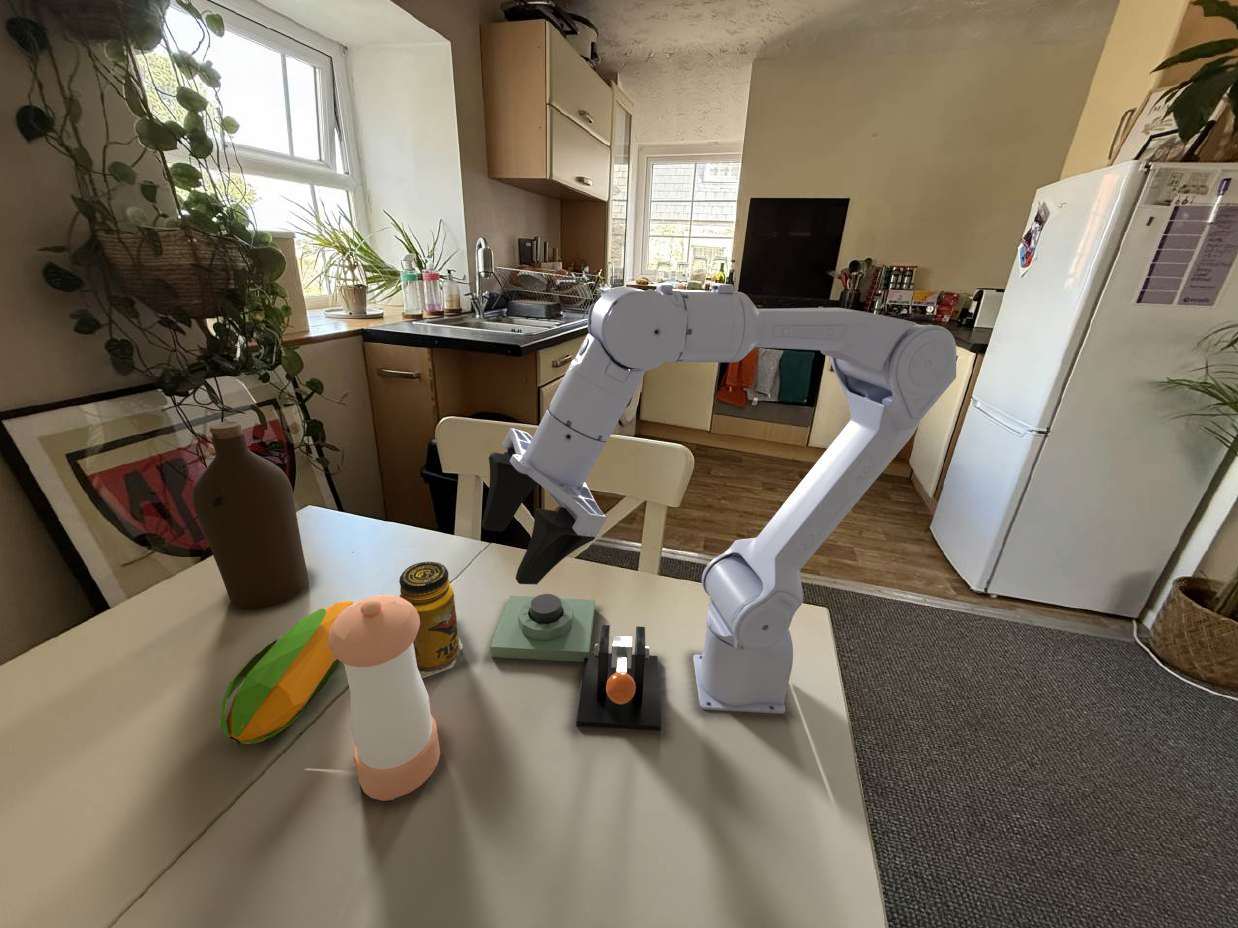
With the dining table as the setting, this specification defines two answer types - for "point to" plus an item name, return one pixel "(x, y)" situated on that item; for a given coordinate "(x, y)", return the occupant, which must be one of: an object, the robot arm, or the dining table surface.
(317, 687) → the corn
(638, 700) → the switch bracket
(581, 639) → the block
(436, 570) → the condiment
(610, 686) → the switch lever
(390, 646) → the pepper shaker
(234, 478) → the olive oil
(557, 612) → the button
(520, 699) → the dining table surface
